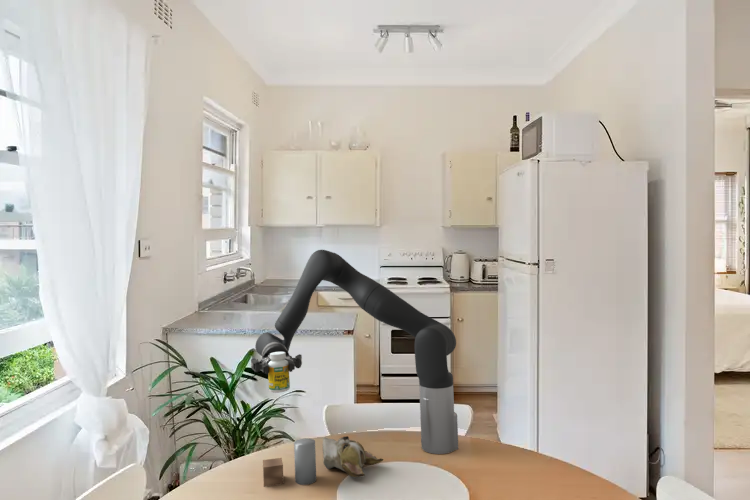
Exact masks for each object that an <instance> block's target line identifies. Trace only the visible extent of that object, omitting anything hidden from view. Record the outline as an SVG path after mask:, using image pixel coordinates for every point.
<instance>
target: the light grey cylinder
mask: <svg viewBox="0 0 750 500" xmlns="http://www.w3.org/2000/svg"><path fill="white" fill-rule="evenodd" d="M293 446H294V447H293V452H294V457H293V458H294V481H295V484H297V485H300V486H301V485H302V486H307V485H311V484H313V483H315V482H316V481H317V460H316V459H317V455H316V452H317V450H316V440H315V439H314V438H309V437H304V438H299V439H296V440H295V441H294V442H293Z"/></svg>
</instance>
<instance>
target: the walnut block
mask: <svg viewBox="0 0 750 500" xmlns="http://www.w3.org/2000/svg"><path fill="white" fill-rule="evenodd" d="M262 478H263V487H270V486H277V485H278V486H279V485H283V484H284V462H283V458H282V457H277V458H269V459H262Z"/></svg>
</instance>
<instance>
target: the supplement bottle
mask: <svg viewBox="0 0 750 500" xmlns="http://www.w3.org/2000/svg"><path fill="white" fill-rule="evenodd" d="M285 358H286V353H285V352H273V353H270V359H271V361H270V362H269V363H268V374H267V375H268V377H267V379H268V390H269V391H268V392H271V393H275V394H276V393H285V392H288V391H289V390H290V389H291V387H290V386H291V382H290V371H289V363H288V361H287V360H285Z"/></svg>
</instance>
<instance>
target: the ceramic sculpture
mask: <svg viewBox="0 0 750 500" xmlns="http://www.w3.org/2000/svg"><path fill="white" fill-rule="evenodd" d="M322 454H323V460H322V462H323V466H324V467H325V468H326V469H327V470H330V469H333V468H336V469H339V470H341V471H343V472H345V473H346V474H347V475H348V476H349V477H351V478H359V477H365V476H366V475H365V473H364V470H363V466H364V465H365V466H373V465H377V464H379V463H382V462H384V459H383V458H382V457H381V458H377V457H376V456H375V455H373V454H372V453H371V452H368V451H367V450H365V448H364V446H363V445H362V444H361V443H360V442H359V441H356V440H352V439H350V437H349V436H348V435H346V436H343V437H340V438H339V439H337V440H336V439H333V438H329V437H325V436H323V437H322Z"/></svg>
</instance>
